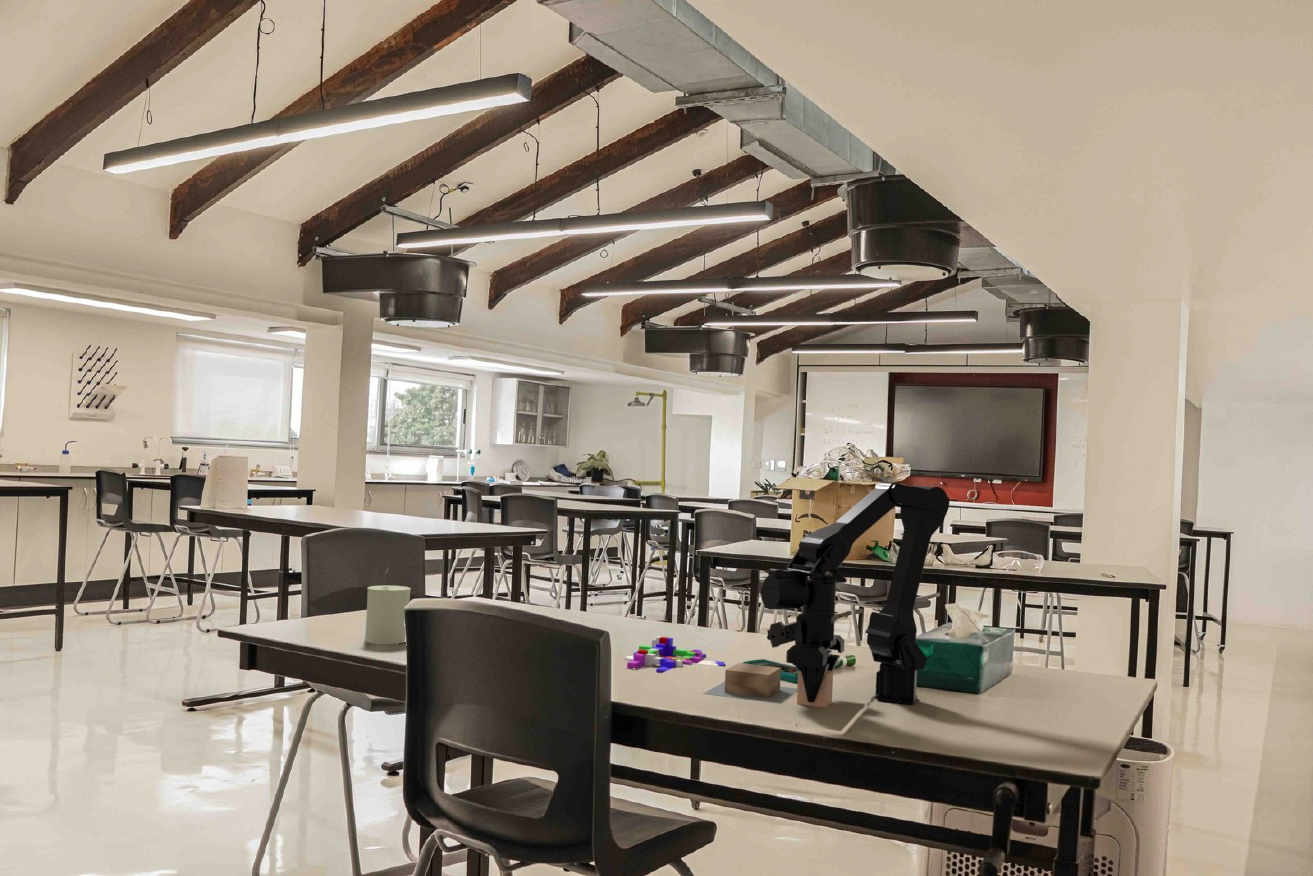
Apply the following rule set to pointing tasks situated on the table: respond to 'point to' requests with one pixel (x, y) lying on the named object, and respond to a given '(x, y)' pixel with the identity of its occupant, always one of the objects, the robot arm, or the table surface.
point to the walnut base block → (752, 680)
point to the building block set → (666, 656)
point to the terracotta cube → (823, 695)
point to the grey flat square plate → (775, 698)
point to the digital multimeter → (787, 671)
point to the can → (386, 614)
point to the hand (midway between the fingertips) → (814, 699)
